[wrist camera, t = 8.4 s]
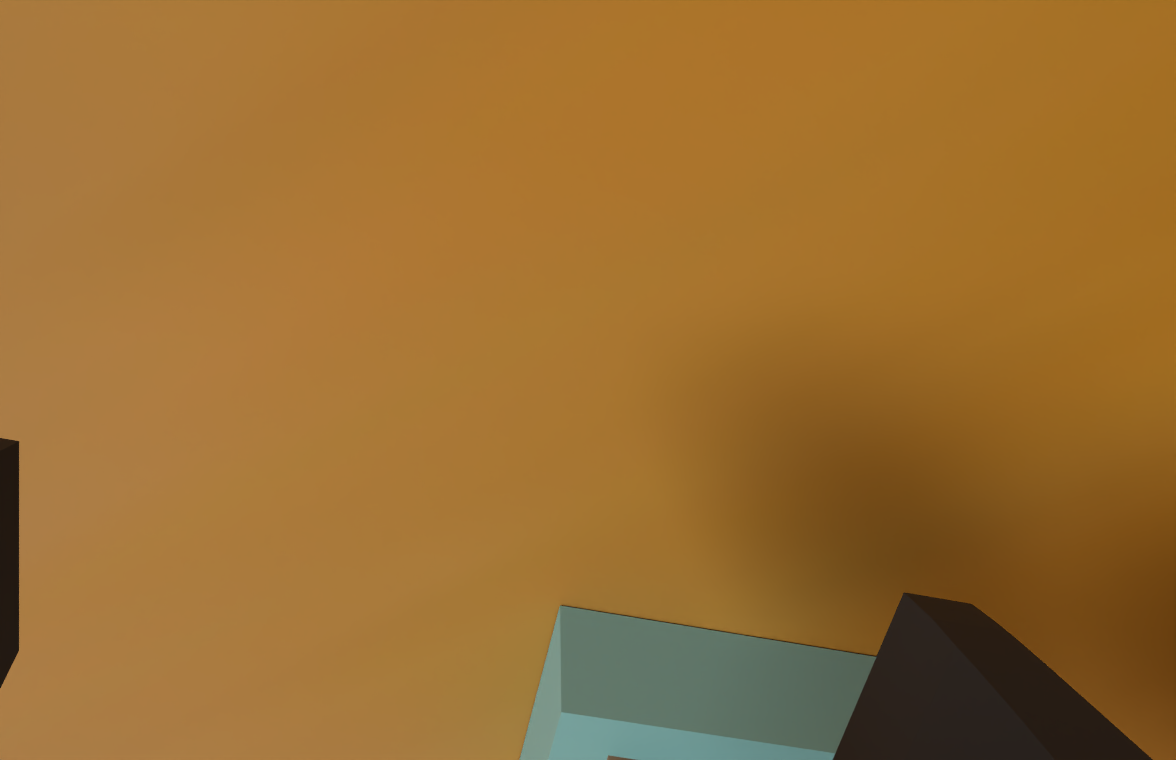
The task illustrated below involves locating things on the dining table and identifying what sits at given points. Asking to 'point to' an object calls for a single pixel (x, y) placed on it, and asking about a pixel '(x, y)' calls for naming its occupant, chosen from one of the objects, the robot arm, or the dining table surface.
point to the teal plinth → (687, 693)
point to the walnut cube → (618, 758)
